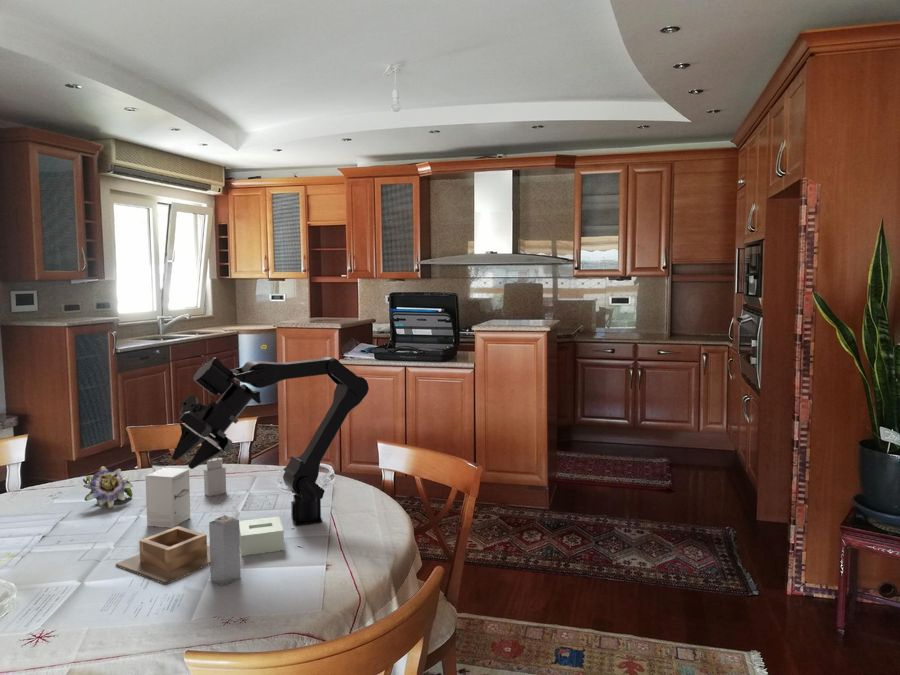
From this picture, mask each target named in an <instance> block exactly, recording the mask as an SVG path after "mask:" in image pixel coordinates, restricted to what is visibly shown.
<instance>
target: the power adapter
mask: <svg viewBox="0 0 900 675" xmlns="http://www.w3.org/2000/svg"><path fill="white" fill-rule="evenodd" d="M203 482H204V483H203V484H204V485H203V487H204V496H206V495H207V496H206V497H213V495H214V496H218V495H222V494H225V493H227V469H226V466H225V465H223V457H219V455H218V456H216V457H214V458H212V459H210V460H208V461H206V468H205V467H204V468H203Z"/></svg>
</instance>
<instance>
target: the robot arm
mask: <svg viewBox="0 0 900 675" xmlns="http://www.w3.org/2000/svg"><path fill="white" fill-rule="evenodd" d="M322 375H323V376H324V375H327V376H328V377H329V378H330V379H329V380H331V381H332V382H333V383H334V384H335V385H336V386H335V388H334V391H333V397H332V398H333V399H332V403H331V406H330V407H329V408H328V411H327V412H326V414H325V415H324V417H323V419H322V420H321V422H320V424H319V426H318V428H317V429H316V432H315V433H314V434H313V436H312V437H311V440H310V441H309V443H308V445H307V447H306V448H305V450H304V451H303V453H301V454H300V455H299V456H298V457H296V456H294V455H291V457H290V458H289V462H288V464H287V465H286V466H285V467H284V468H283V469H282V470H283V471H284V473H283V476H282V478H283V483H284V484H285V486H286V487H287V488H289V490H290V491H291V493H292V494H293V495H292V496H293V500H292V501H290V512H291V513H290V514H291V516H290V518H291V521H293V523H294V525H295V526H303V525H311V524H317V523H323V518H322V512H321V511H322V510H321V509H322V506H321V505H322V503H321V501H322V499H323V498H324V494H325V489H324V488H322V487H321V486H320V485H318V484H317V480H318V477H319V474H320V466H321V462H322V460H323V458H324V456H326V453H327V451H328V450H329V448H330V446H331V444H332V442H333V441H334V439H335V438H336V436H337V434H338V432H339V430H340V428H341V427H342V425H343V424H344V422H345V420H346V418H347V416H348V415H349V413H350V412H351V411H352V410H353V409H355V408H356V407H357V406H359V405H360V404H361V403H362V401H363V400H364V399H365V398H366V396H367V395H368V393H369V389H370V387H369V383H368V381H367V379H365V378H364V377H362V376H360V375H357V374H355V373H354V372H353V371H352V370H350V369H349V368H348V367H347V366H345V365H344V364H342V363H341V362H340V361H339V360H338V359H337V358H335V357H330V356H325V357H322V358H314V359H313V358H311V359H304V360H295V361H286V362H275V361H274V362H273V361H266V360H265V361H264V360H249V361H247V362H245V363H244V365H243V366H240V367H236V368H233V369H229V368H228V367H227V366H225V365H224V364H223V363H222V362H221V361H220V359H218V358H217V357H212V358H211V359H210V360H209V361H207V362H205V363H204V364H203V365H202V366H200V367H199V368H198V369H197V371H196V372H195V374H194V375H193V378H192V379H193V381H194V382H195V383H196V384H198V385H199V386H201V387H202V389H204V390H206V391H207V392H208V393H209V394H211V395H212V396H216V395H221V396H220V398H218V400H217V401H216V402H215V401H210V402H209V403H207V405H206V404H202V403H201V402H199V398H197V397H196V396H194V395H191V394H190V395H188V396H187V397H186V398H185V399H183V401H182V402H180V406H181V409H180V412H179V414H180V415H181V416H180V417H179V418H178V420H179V421H180V422H179V426H180V430H181V435H180V437H179V440H178V442H177V444H176V446H175V449H174V451H173V453H172V456H171V459H172V460H173V461H178V460H179V459H181V458H182V457H184V456H185V455H187V454H188V453H189V452H191V451H192V450H193V449H195V448H196V447H198V446H199V445H200V447H199V448H198V450H197V451H196V453H195V454H194V455H193V457H192V459H191V461H190V462H189V464H188V465H187V466H188V469H189V470H193V469H195V468H196V467H198V466H201V465H203V464H204V463H207V461H208V460H210V459H214V458H217V456H218V457H219V456H220V455H224V454H225V453H229V452H230V450H232V448H233V441H232V440H231V439H230V438H228V437H227V434H226V433H225V432H226V431H227V430H228V429H229V428H230V427H231V425H233V424H236V425H237V424H238V422H239V419H237V418H238V417H239V416H240V414H241V413H242V412H243V411H244V410H245V408H246V407H247V406H248V404H250V402H251V401H253V402H254V403H256V404H259V405H260V404H261V403H262V400H261V391H259V390H252V388H250V387H249V386H251V387H254V388H255V389H256V388H257V389H262V388H267V387H270V386H273V385H275V384H277V383H279V382H281V381H285V380H290V379H296V378H297V379H299V378H300V379H301V378H307V377H316V376H322ZM234 380H236V381H237V382H238V381H239V382H240V383H242V384H240V385H239V384H238V383H237V382H235V381H234ZM243 383H244V384H243ZM246 384H247V385H249V386H247V385H246ZM183 423H184V424H183ZM221 449H222V450H223V451H222V450H221Z"/></svg>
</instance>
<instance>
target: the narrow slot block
mask: <svg viewBox="0 0 900 675" xmlns="http://www.w3.org/2000/svg"><path fill="white" fill-rule="evenodd" d="M283 527H284V526H283V524H282V520H281V519H280V516H272V517H271V516H270V517H263V518H255V519H247V520H245V519H244V520H239V533H240V557H244V556H251V554H252V555H258V554H259V553H260V554H266V552H267V553H272V552H281V551H280V550H282V551H285V542H284V541H285V538H284V537H285V536H284V535H285V534H284V528H283Z"/></svg>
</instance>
